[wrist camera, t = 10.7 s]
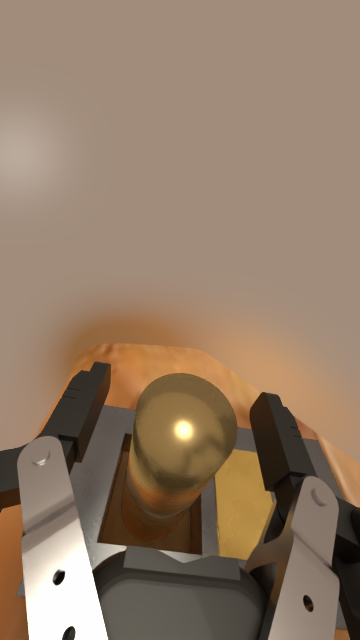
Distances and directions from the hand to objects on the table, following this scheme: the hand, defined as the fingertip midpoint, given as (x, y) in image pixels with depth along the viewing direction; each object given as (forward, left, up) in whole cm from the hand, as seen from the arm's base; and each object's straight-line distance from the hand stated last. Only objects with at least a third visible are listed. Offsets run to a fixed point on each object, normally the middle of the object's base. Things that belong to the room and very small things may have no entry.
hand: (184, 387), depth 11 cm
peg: (0, +2, -11) cm, 11 cm away
